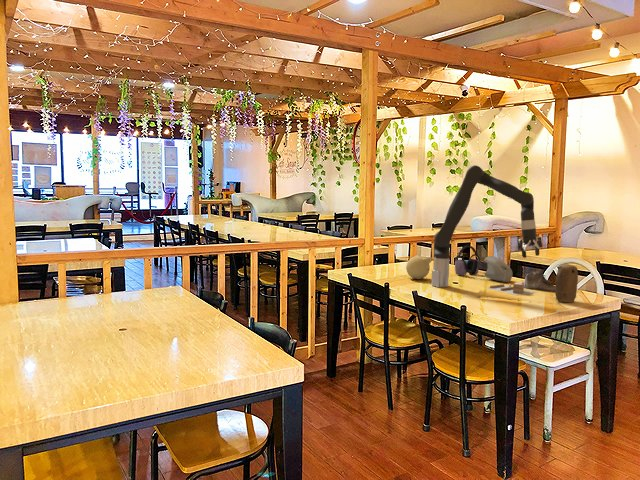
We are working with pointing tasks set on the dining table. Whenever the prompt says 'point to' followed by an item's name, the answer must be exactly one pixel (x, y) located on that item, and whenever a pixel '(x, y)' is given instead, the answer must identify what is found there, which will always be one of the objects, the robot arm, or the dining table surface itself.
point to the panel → (507, 289)
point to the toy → (418, 267)
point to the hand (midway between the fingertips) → (530, 256)
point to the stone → (566, 283)
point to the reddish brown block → (518, 287)
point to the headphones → (467, 264)
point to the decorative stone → (497, 269)
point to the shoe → (538, 282)
